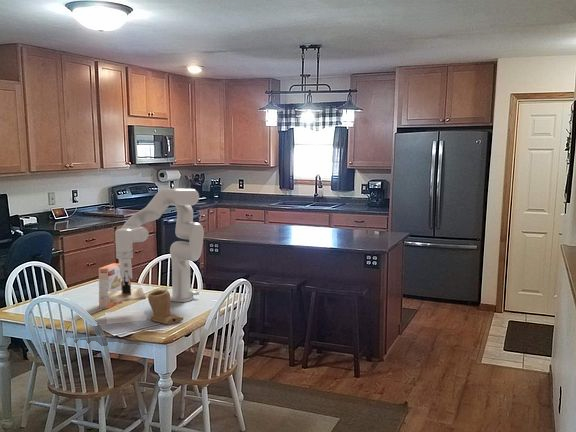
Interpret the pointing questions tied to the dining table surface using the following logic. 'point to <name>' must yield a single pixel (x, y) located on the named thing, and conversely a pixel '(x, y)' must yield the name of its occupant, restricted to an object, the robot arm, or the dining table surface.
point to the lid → (120, 297)
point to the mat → (125, 316)
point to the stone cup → (162, 307)
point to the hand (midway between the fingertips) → (126, 291)
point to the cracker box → (108, 284)
